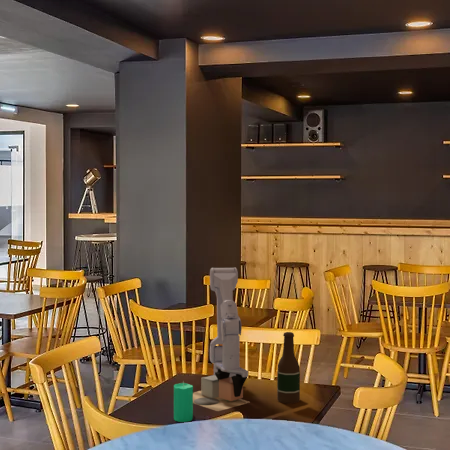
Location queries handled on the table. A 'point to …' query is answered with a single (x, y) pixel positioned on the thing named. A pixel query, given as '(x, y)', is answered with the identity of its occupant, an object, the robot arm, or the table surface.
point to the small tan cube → (228, 390)
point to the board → (215, 402)
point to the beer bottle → (288, 373)
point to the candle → (183, 402)
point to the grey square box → (210, 386)
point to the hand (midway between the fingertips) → (230, 394)
